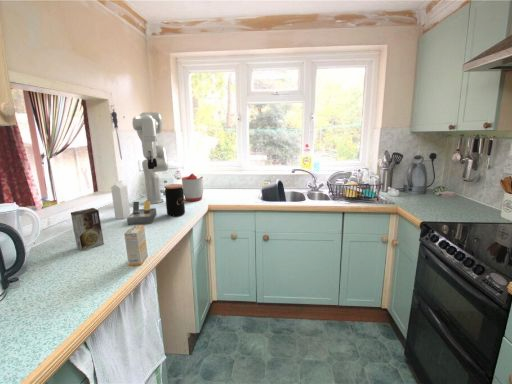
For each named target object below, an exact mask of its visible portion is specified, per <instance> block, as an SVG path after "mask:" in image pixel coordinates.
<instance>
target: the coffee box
mask: <svg viewBox="0 0 512 384" xmlns="http://www.w3.org/2000/svg"><path fill="white" fill-rule="evenodd" d="M70 216H71V217H70V218H71V222H72V227H73V233H74V239H75V244H76V248H77V249H78V250H80V251H82V252H83V251H86V250H90V249H93V248H95V247H96V248H97V247H98V246H101V245H104V244H105V242H104V236H103V229H102V224H101V217H100V212H99V209H97V208H95V207H90V208H85V209H82V210H76V211H71V212H70Z"/></svg>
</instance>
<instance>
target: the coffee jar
mask: <svg viewBox="0 0 512 384" xmlns="http://www.w3.org/2000/svg"><path fill="white" fill-rule="evenodd" d="M164 188H165V190H164V195H165V197H164V198H165V206H166V208H165V209H166V214H167V216H169V217H172V218H173V217H181V216H183V215H184V214H185V213H186V207H185V196H184V193H183V185H182V183H175V184H167V185H164Z"/></svg>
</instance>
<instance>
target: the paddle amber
mask: <svg viewBox="0 0 512 384" xmlns="http://www.w3.org/2000/svg"><path fill="white" fill-rule="evenodd" d="M143 205H144V206H143V209H144V213H145V212H150V209H151V204H150V201H146V200H145V201H144V202H143Z"/></svg>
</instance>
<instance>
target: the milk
mask: <svg viewBox="0 0 512 384" xmlns="http://www.w3.org/2000/svg"><path fill="white" fill-rule="evenodd" d="M110 189H111V197H112V202H113V203H112V205H113V210H114V218H115V219H118V220H119V219H120V220H126V219H127V218H128V217H129V216H130V215H131V209H130V199H129V192H128V186H127V185H126V184H125V183H123V180H118V181H115V182H114V185H112V186H111V187H110Z"/></svg>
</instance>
